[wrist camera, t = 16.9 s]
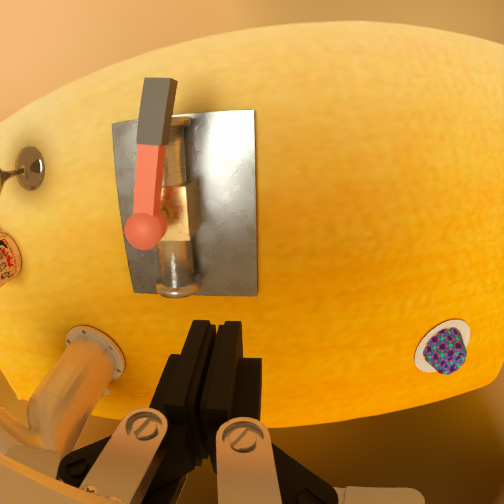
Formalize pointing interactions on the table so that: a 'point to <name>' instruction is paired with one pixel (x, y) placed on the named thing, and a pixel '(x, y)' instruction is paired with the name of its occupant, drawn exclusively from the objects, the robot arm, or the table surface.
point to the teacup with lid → (8, 259)
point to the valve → (197, 206)
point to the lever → (151, 163)
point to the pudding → (444, 348)
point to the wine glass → (26, 169)
